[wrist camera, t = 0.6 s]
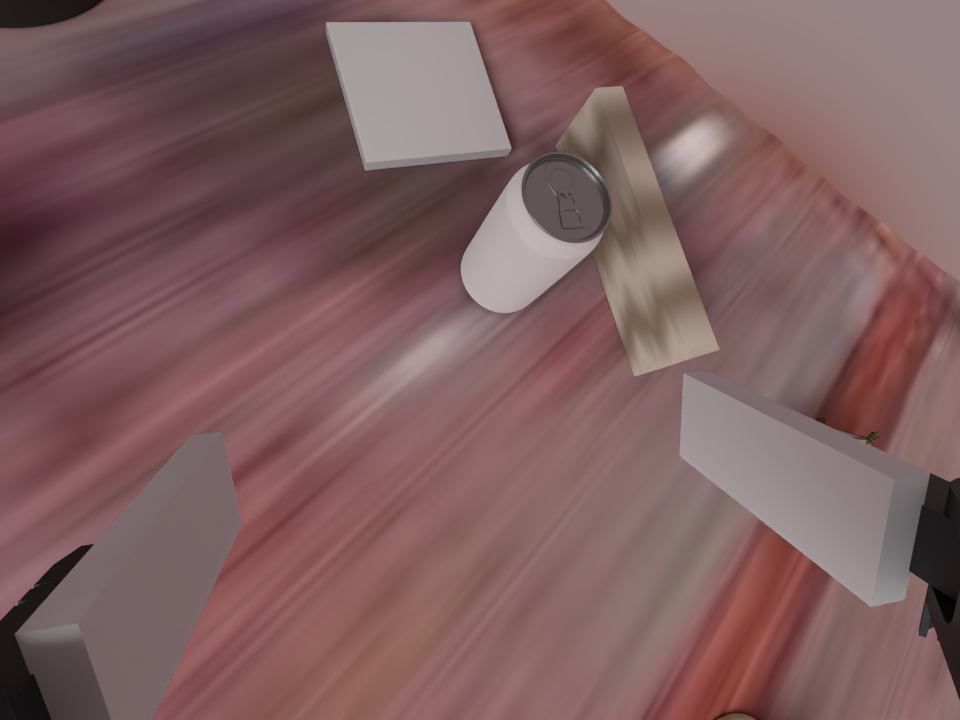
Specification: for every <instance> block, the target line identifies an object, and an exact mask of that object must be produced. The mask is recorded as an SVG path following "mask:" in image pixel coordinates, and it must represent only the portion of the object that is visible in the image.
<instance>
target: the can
mask: <svg viewBox="0 0 960 720" xmlns="http://www.w3.org/2000/svg"><path fill="white" fill-rule="evenodd" d="M611 216H612V197H611V193H610V190H609V188H608V185H607V183H606V181H605V180H604V178H603V177H602V175H601V174H600V173H599V172H598V170H597V169H596V168H595V167H594V166H592V165H591V164H590V163H589V162H587V161H586V160H584V159H583V158H581V157H579V156H577V155H574V154H571V153H567V152H549V153H545V154H543V155H540V156H539V157H537V158H536V159H534V160H533V161H532V162H531V163H530V164H528V165H526V166H524V167H523V168H521V169H520V170H519V171H518V172H517V173H516V174H515V175H514V176H513V177H512V179H511V180H510V182H509V183H508V184H507V186H506V187H505V189H504V190H503V192H502V194H501V195H500V197H499V198H498V200H497V201H496V203H495V204H494V206H493V208H492V209H491V211H490V212H489V214H488V216H487V217H486V219H485V220H484V222H483V223H482V225H481V227H480V228H479V230H478V231H477V233H476V235H475V236H474V238H473V239H472V241H471V243H470V244H469V246H468V248H467V249H466V251H465V253H464V255H463V258H462V262H461V276H462V280H463V283H464V286H465V288H466V290H467V291H468V293H469V294H470V296H471V297H472V298H473V299H474V300H475V301H476V302H477V303H478V304H480V305H481V306H483V307H484V308H486V309H488V310H491V311H494V312H498V313H511V312H516V311H518V310H521V309H523V308H524V307H526V306H527V305H528V304H530V303H531V302H532V301H534V300H535V299H536V298H537V297H538V296H540V295H541V294H542V293H543V292H544V291H546V290H547V289H548V288H549V287H550V286H552V285H553V284H554V283H555V282H556V281H558V280H559V279H560V278H561V277H562V276H564V275H565V274H566V273H567V272H568V271H569V270H571V269H572V268H573V267H574V266H575V265H577V264H578V263H579V262H580V261H581V260H582V259H584V258H585V257H586V256H587V255H588V254H589V253H590V252H591V251H592V250H593V249H594V248H595V247H596V246H597V244H598V243H599V241H600V239H601V237H602V235H603V232H604V230H605V229H606V228H607V226H608V224H609V222H610V219H611Z"/></svg>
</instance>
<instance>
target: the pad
mask: <svg viewBox="0 0 960 720" xmlns="http://www.w3.org/2000/svg"><path fill="white" fill-rule="evenodd" d="M326 35H327V39H328V42H329V46H330V49H331V53H332V56H333V60H334V63H335V67H336V70H337V74H338V77H339V81H340V85H341V88H342V92H343V95H344V99H345V102H346V106H347V109H348V113H349V116H350V120H351V123H352V127H353V130H354V134H355V137H356V141H357V144H358V148H359V151H360V155H361V158H362V162H363V165H364V169H365V171H366V170H376V169H385V168H395V167H405V166H414V165H424V164H434V163H444V162H453V161H463V160H473V159H483V158H492V157H502V156H508V154H509V152H510V151H511V149H512V148H511V145H510V142H509V139H508V136H507V133H506V130H505V127H504V124H503V121H502V118H501V115H500V112H499V109H498V106H497V103H496V100H495V96H494V93H493V90H492V87H491V84H490V81H489V78H488V75H487V72H486V69H485V66H484V63H483V60H482V57H481V54H480V51H479V48H478V45H477V42H476V39H475V36H474V33H473V30H472V27H471V23H470V22H326Z"/></svg>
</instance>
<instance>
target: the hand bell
mask: <svg viewBox="0 0 960 720" xmlns="http://www.w3.org/2000/svg"><path fill="white" fill-rule="evenodd" d="M717 720H756V719H755V718H753V717H751V716H748V715H746V714H739V713H732V714H728V715H725V716H723V717H721V718H719V719H717Z"/></svg>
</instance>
